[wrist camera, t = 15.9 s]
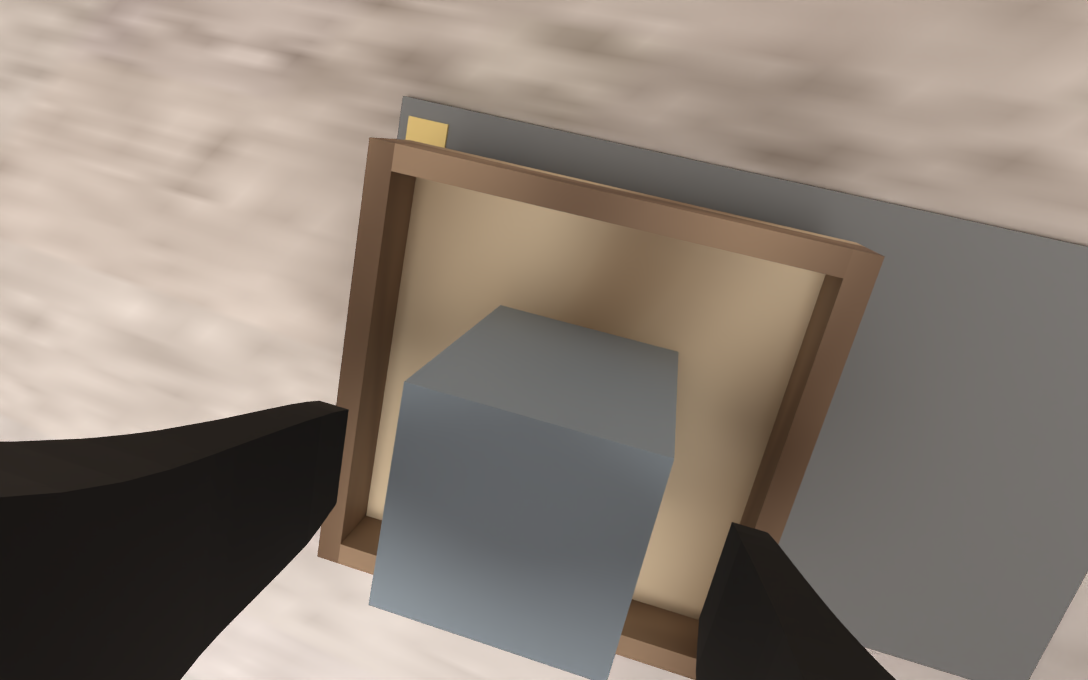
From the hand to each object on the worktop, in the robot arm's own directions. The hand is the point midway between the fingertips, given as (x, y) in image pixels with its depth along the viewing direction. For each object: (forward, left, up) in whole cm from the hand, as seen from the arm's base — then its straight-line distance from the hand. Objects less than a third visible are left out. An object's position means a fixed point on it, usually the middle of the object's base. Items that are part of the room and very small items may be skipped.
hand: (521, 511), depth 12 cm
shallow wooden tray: (0, 0, -9) cm, 9 cm away
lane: (-4, 0, -9) cm, 10 cm away
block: (0, 0, -5) cm, 5 cm away
